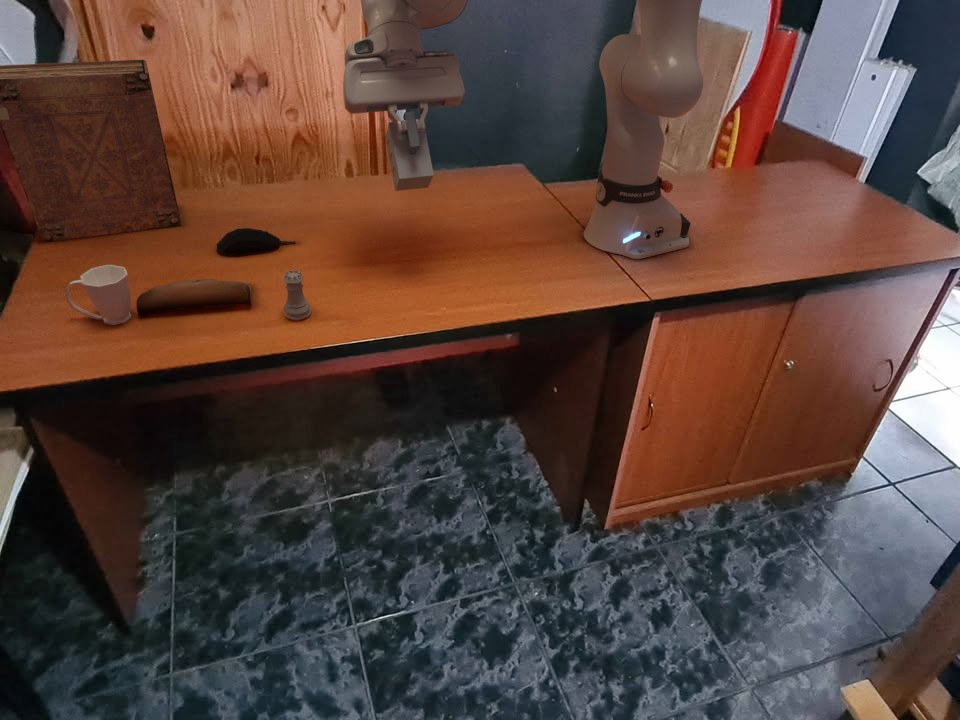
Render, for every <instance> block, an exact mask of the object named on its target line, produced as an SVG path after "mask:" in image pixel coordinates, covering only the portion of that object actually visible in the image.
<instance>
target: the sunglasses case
mask: <svg viewBox="0 0 960 720" xmlns="http://www.w3.org/2000/svg"><path fill="white" fill-rule="evenodd" d="M136 298H137V299H136V311H137V315H138V316H140V315H147V314H156V313H164V312H167V311H176V310H180V309H184V310H185V309H200V308H208V307H210V308H211V307H225V306H238V305H249V306H253V287H252V284H250V283H246V282H242V281H235V280H234V281H233V280H232V281H231V280H221V279H213V278H212V279H210V278H209V279H208V278H201V279H195V278H194V279H187V280H180V281H175V282H170V283H166V284H163V285H158V286H154V287H152V288H149V289H148V290H147V291H144V292H142V293H140V294H139V295H138V297H136Z"/></svg>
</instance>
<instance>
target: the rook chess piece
mask: <svg viewBox="0 0 960 720" xmlns="http://www.w3.org/2000/svg"><path fill="white" fill-rule="evenodd" d="M282 280H283V282H284V283H285V284H286V285H285V289H286V291H287V297H286V298H287V299H286V301H285V304H284V306H283V310H284V313H283V314H284V316H285V317H286V318H287V319H288V320H291V321H302V320H305V319H307V318H308V317H309V316H310V315H311V312H312V309H311V305H310V303H309V302H308V301H307V299H306V298H305V295H304V291H303V288H304V285H303V283H302V282H303V281H304V275H302V273H301V271H299V270H298V269H294V271H293V269H289V271H287V270H286V271H285V273H284V276H283V278H282Z"/></svg>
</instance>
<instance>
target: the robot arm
mask: <svg viewBox="0 0 960 720" xmlns="http://www.w3.org/2000/svg"><path fill="white" fill-rule="evenodd" d="M468 2H469V0H360V5H361V12H362V16H363V19H364V21H365V23H366V25H367V33H366V34H367V36H366V37H364V38H362V39H359V40H357V41H353V42H351V43H349V44H348V45H347V46H346V49H345V54H344V71H343V82H342V83H343V84H342V91H343V92H342V94H343V95H342V96H343V106H344V109H345V110H346V111H347V112H348V113H349V114H353V115H354V114H367V113H368V114H369V113H380V112H386V114H387V118H389V120H390V122H393V123H394V124H395V125H396V126H397V132H398V135H403V134H407V132H408V127H407V126H406V125H407V122H406V120H404V119H403V120H402V119H401V117H400V116H399V115H398V114H397V113H398V111H406V110H407V111H408V110H417V114H418V115H420V118H418V119H417V118H416V119H415V122H416V127H417V132H418V133H424V132H426V123H425V118H426V116H427V114H428V110H429V109H433V108H447V107H458V106H460V104H461V103H462V101H463V100H464V98H465V94H466V89H465V86H464V81H463V78H462V75H461V73H460V72H461V66H460V62H459V58H458V56H457V55H456V54H454V53H453V52H450V51H449V50H445V49H443V50H440V51H438V50H436V51H435V50H426V51H425V50H424V48H423V42H422V38H421V37H422V36H421V32H420V30H429V29H433V28H437V27H441V26H445V25H448V24H451V23H452V22H454V21H456V20H457V19H458V18H459V17H460V16H461V15H462V14H463V12H464V10H465V9H466V6H467V4H468ZM702 3H703V0H636V5H637V8H638V13H639V19H640V33H639V34H638V33H622V34H619V35H616V36H614V37H613V38H612V39H610V40H609V41H608V42H607V43H606V45H605V46H604V47H603V49H602V51H601V54H600V57H599V64H598V65H599V73H600V75H601V77H602V80H603V84H604V91H605V92H604V93H605V105H606V126H607V127H606V130H607V131H606V141H605V147H604V154H603V160H602V168H601V169H600V170H599V173H598V178H597V183H596V189H595V202H594V205H593V208H592V212H591V215H590V217H589V220H588V222H587V225H586V227H585V228H584V230H583V233H582V234H583V235H582V236H583V238H584V240H585V241H586V242H587V243H588V244H590V245H591V246H593V247H594V248H596V249H597V250H601V251H603V252H607V253H611V254H617V255H622V256H624V257H627V258H630V259H632V260H641V259H646V258H649V257H650V258H651V257H654V256H659V255H661V254H666V253H671V252H674V251H678V250H682V249H686V248H688V247H689V246H690V238H689V236H688V234H689V231H690V227H691V221H689V220H688V219H687V218H686V217H685V215H683V214H682V213H681V212H680V211H679V210H678V209H677V208H676V206H675V205H674V204H672V203H671V201H669V200H668V199H667V198H666V197H665V196H664V195H663V194H662V191H663V192H664V193H666V194H669V193H671V192H672V191H673V189H674V185H673V183H671V182H669V180H667V179H664V180H663V178H662V177H661V176H659V170H660V165H661V161H662V156H663V152H664V147H665V136H664V131H663V130H662V129H663V128H662V125H661V121H660V118H661V117H662V118H668V119H676V118H680V117H682V116H685V115H686V114H688V113H689V112H690V111H691V110H692V109H693V108H694V107H695V106H696V105H697V103H698V102H699V100H700V98H701V96H702V93H703V88H704V76H703V73H702V70H701V67H700V63H699V58H698V31H699V30H698V29H699V28H698V27H699V18H700V11H701V6H702Z"/></svg>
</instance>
